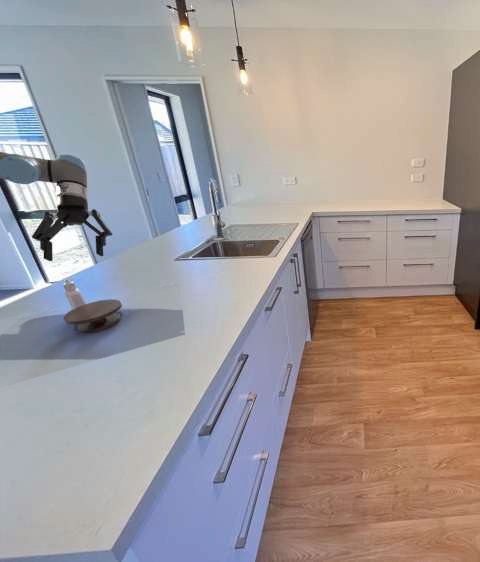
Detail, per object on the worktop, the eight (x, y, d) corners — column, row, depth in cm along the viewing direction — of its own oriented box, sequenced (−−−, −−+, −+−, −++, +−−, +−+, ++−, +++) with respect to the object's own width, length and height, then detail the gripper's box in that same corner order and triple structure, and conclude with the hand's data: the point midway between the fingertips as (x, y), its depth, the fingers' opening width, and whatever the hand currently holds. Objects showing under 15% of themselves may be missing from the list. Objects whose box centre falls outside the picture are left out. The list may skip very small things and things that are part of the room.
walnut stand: (66, 341, 83) (57, 326, 80) (76, 321, 93) (69, 307, 90) (124, 326, 89) (118, 312, 87) (128, 308, 99) (123, 295, 97)
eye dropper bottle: (70, 318, 94) (52, 284, 89) (77, 310, 99) (60, 277, 94) (88, 315, 96) (71, 281, 91) (94, 307, 100) (78, 274, 95)
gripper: (15, 195, 96) (15, 258, 92) (111, 192, 104) (114, 249, 100) (33, 206, 103) (34, 265, 99) (121, 202, 111) (125, 256, 107)
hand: (74, 257), depth 99 cm, fingers open, 13 cm apart
